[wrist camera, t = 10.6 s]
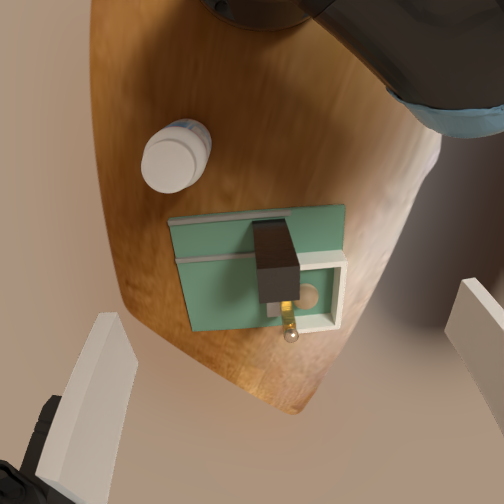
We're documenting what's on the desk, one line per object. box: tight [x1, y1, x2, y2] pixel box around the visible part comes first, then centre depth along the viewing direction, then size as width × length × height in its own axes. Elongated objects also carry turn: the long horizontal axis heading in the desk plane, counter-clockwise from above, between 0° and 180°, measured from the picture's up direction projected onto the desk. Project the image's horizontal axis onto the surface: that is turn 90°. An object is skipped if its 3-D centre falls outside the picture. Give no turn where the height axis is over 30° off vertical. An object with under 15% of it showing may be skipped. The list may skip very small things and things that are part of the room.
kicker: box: [252, 218, 300, 343], centre depth 38 cm, size 14×4×11 cm, turn 4°
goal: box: [295, 250, 348, 333], centre depth 44 cm, size 12×7×4 cm, turn 4°
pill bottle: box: [141, 119, 212, 193], centre depth 30 cm, size 6×6×11 cm
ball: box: [293, 283, 319, 310], centre depth 44 cm, size 4×4×4 cm
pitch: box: [168, 204, 345, 331], centre depth 44 cm, size 18×22×1 cm
